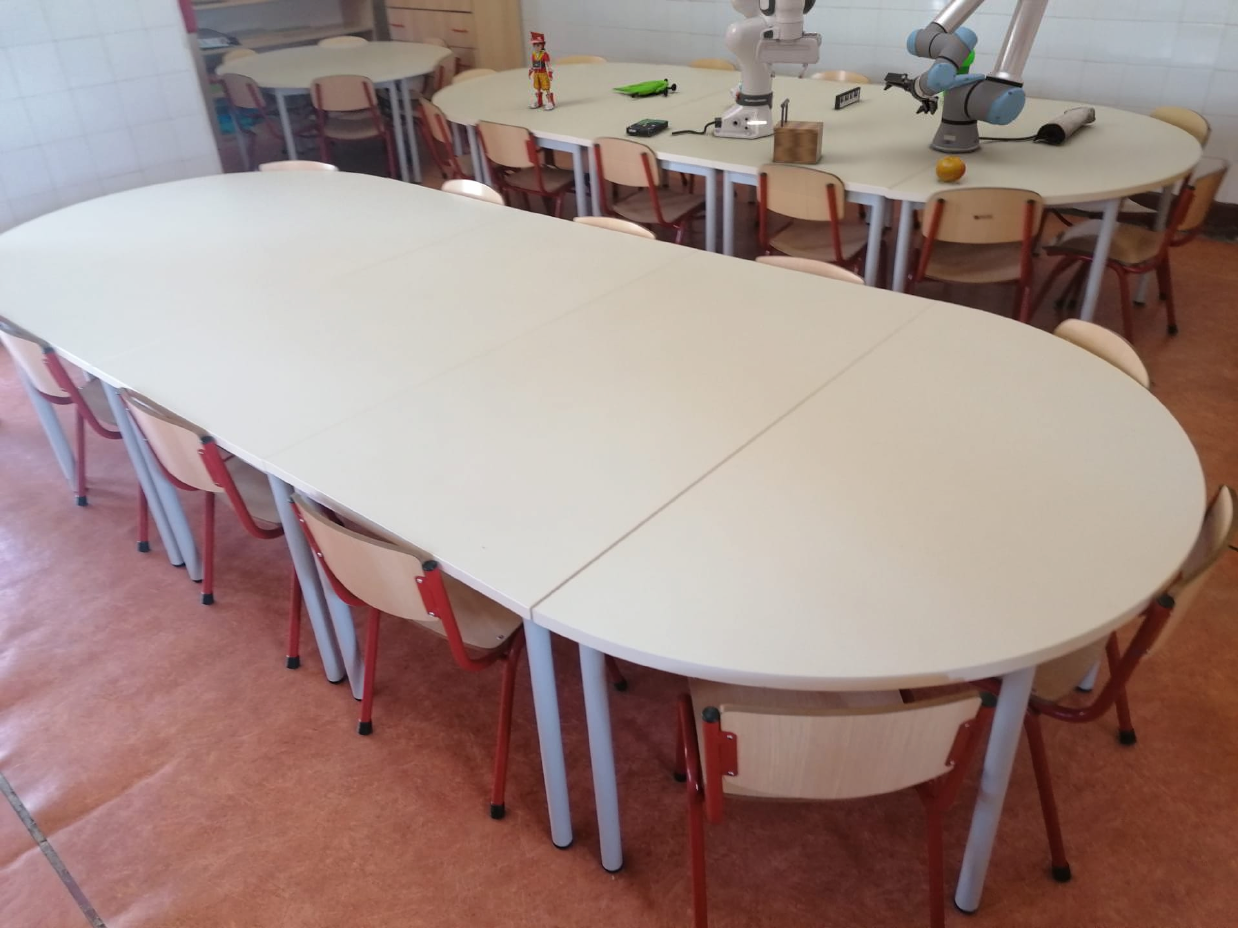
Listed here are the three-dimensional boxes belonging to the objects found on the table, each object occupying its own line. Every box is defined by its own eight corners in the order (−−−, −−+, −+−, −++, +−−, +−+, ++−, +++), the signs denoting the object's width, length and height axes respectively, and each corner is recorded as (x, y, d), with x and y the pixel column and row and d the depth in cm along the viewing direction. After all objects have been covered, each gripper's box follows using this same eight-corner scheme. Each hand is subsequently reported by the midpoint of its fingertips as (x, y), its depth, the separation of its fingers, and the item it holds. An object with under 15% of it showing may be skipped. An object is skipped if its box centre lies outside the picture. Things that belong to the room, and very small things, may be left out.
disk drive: (649, 138, 335) (668, 127, 345) (649, 130, 333) (668, 120, 343) (625, 135, 340) (645, 125, 350) (625, 127, 338) (645, 117, 348)
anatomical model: (726, 82, 366) (750, 75, 366) (730, 107, 372) (754, 101, 372) (732, 90, 354) (757, 83, 353) (737, 117, 360) (761, 110, 359)
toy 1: (525, 109, 381) (517, 32, 364) (534, 104, 388) (527, 28, 371) (550, 110, 377) (543, 32, 360) (559, 105, 384) (553, 28, 367)
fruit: (930, 172, 274) (947, 148, 271) (931, 174, 281) (947, 151, 278) (953, 187, 272) (970, 164, 269) (953, 189, 280) (970, 166, 277)
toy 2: (686, 85, 398) (631, 84, 414) (685, 72, 395) (629, 72, 411) (651, 104, 381) (596, 103, 397) (650, 92, 378) (594, 91, 394)
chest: (772, 162, 303) (774, 132, 297) (779, 154, 310) (780, 124, 304) (815, 164, 298) (817, 133, 292) (821, 156, 305) (823, 126, 300)
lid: (773, 131, 297) (774, 104, 292) (779, 124, 304) (780, 97, 300) (817, 133, 292) (819, 106, 288) (823, 126, 300) (825, 98, 295)
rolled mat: (1061, 112, 323) (1087, 94, 314) (1075, 133, 323) (1101, 116, 315) (1028, 135, 305) (1054, 117, 297) (1043, 158, 306) (1070, 140, 298)
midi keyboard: (837, 109, 355) (838, 96, 352) (834, 109, 355) (835, 95, 352) (859, 100, 365) (860, 87, 362) (856, 99, 366) (858, 86, 363)
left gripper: (823, 30, 282) (820, 76, 290) (760, 29, 289) (758, 75, 297) (820, 33, 277) (816, 81, 285) (755, 33, 284) (753, 79, 292)
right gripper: (886, 73, 278) (866, 86, 299) (950, 119, 282) (925, 129, 303) (901, 51, 277) (879, 66, 298) (964, 98, 281) (939, 110, 301)
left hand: (786, 78), depth 291 cm, fingers open, 8 cm apart
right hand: (902, 98), depth 300 cm, fingers open, 13 cm apart
